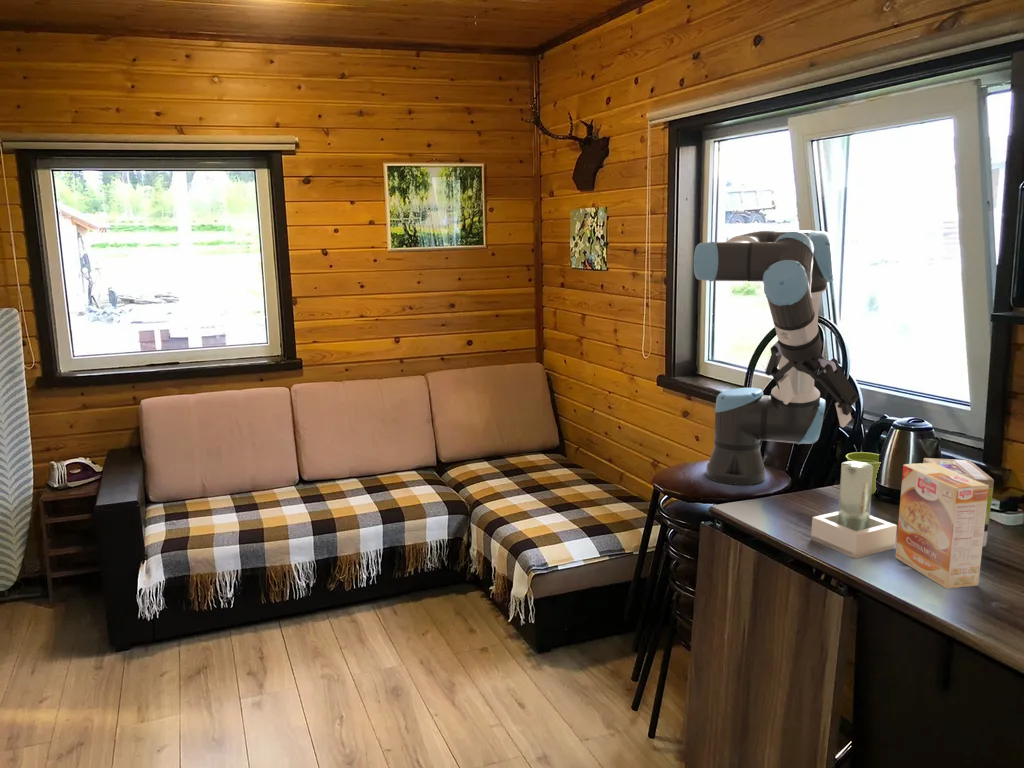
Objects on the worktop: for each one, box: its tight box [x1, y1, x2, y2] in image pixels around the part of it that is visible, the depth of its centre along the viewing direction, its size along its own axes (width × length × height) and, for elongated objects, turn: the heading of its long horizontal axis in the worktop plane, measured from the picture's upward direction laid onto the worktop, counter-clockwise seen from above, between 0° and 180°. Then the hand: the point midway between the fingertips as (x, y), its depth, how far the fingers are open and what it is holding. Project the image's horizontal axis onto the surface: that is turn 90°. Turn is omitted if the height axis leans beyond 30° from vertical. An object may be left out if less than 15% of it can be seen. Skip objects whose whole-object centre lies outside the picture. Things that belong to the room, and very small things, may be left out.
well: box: [810, 510, 898, 559], centre depth 172 cm, size 12×12×5 cm
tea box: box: [922, 457, 995, 548], centre depth 176 cm, size 15×10×15 cm, turn 168°
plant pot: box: [845, 451, 881, 495], centre depth 205 cm, size 9×9×9 cm
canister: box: [838, 460, 873, 531], centre depth 170 cm, size 6×6×16 cm
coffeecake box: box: [894, 462, 989, 590], centre depth 157 cm, size 15×7×20 cm, turn 11°
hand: (816, 411), depth 170 cm, fingers open, 13 cm apart
